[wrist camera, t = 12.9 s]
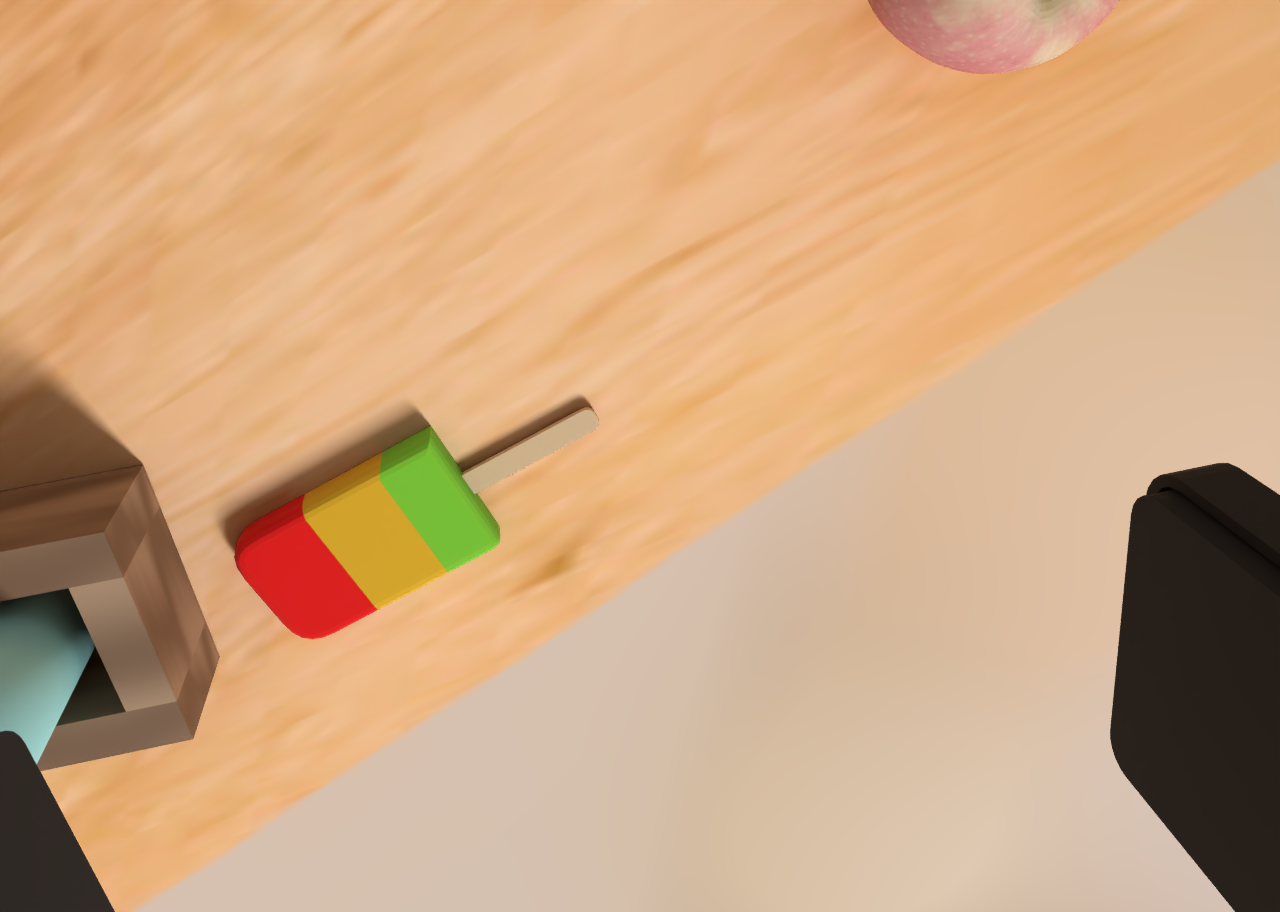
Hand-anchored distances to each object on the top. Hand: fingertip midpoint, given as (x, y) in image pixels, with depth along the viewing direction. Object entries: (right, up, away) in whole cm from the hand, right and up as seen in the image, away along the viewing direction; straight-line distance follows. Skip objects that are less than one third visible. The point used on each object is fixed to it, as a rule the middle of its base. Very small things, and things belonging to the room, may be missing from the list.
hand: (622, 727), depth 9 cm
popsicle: (-8, +1, +33) cm, 34 cm away
